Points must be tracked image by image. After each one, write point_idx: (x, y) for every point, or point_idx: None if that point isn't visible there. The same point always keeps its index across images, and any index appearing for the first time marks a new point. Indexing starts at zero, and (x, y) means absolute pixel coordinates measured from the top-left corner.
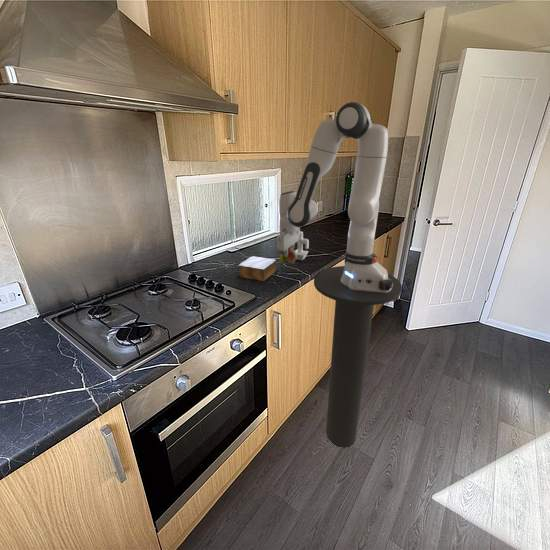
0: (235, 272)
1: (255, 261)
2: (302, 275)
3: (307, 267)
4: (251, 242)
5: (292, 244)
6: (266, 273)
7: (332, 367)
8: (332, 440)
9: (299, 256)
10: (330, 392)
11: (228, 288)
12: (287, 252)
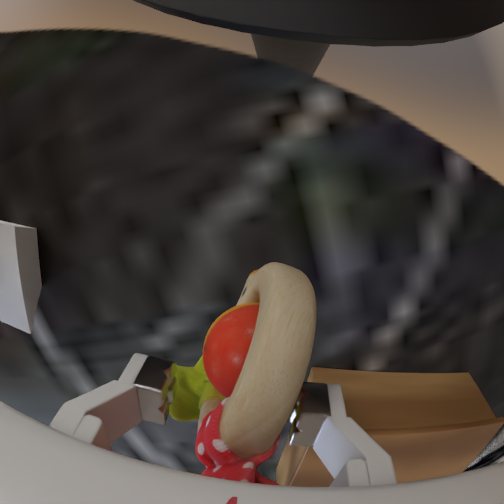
0: None
1: None
2: (357, 139)
3: (150, 138)
4: None
5: (189, 487)
6: (455, 397)
7: (316, 55)
8: None
9: (25, 260)
10: (308, 72)
11: (501, 440)
12: (360, 431)
